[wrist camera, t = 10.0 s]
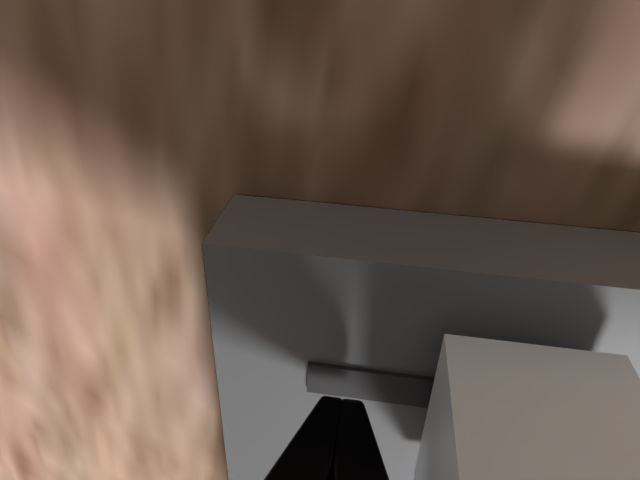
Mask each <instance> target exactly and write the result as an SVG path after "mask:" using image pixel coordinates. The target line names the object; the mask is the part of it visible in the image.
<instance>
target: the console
mask: <svg viewBox="0 0 640 480" xmlns="http://www.w3.org/2000/svg"><path fill="white" fill-rule="evenodd" d="M202 252H203V260H204V269H205V278H206V287H207V295H208V304H209V313H210V322H211V330H212V339H213V348H214V357H215V365H216V374H217V383H218V392H219V400H220V409H221V418H222V427H223V435H224V444H225V453H226V462H227V470H228V479H229V480H264V478H265V477H266V476H267V474H268V473H269V471H270V470H271V468H272V467H273V465H274V464H275V463H276V461H277V460H278V458H279V457H280V455H281V454H282V453H283V451H284V450H285V448H286V447H287V445H288V444H289V442H290V441H291V440H292V438H293V437H294V435H295V434H296V432H297V431H298V429H299V428H300V427H301V425H302V424H303V422H304V421H305V419H306V418H307V417H308V415H309V414H310V412H311V411H312V409H313V408H314V406H315V405H316V404H317V402H318V401H319V399H320V398H321V397H322V396H331V397H338V398H341V399H342V400H343V399H353V400H360V401H362V402H363V403H364V405H365V408H366V411H367V414H368V417H369V420H370V423H371V426H372V429H373V432H374V435H375V438H376V441H377V444H378V447H379V450H380V453H381V456H382V459H383V462H384V465H385V468H386V471H387V474H388V477H389V480H414V470H415V465H416V461H417V456H418V452H419V447H420V443H421V438H422V433H423V429H424V424H425V420H426V415H427V411H428V406H429V401H430V397H431V392H432V388H433V383H434V379H435V374H436V370H437V365H438V360H439V356H440V351H441V347H442V342H443V338H444V334H451V335H460V336H468V337H476V338H485V339H493V340H502V341H510V342H518V343H527V344H535V345H544V346H552V347H560V348H569V349H577V350H586V351H594V352H602V353H611V354H619V355H627V356H628V358H629V360H630V361H631V363H632V365H633V367H634V369H635V371H636V373H637V375H638V376H639V378H640V233H639V232H628V231H618V230H607V229H597V228H586V227H575V226H565V225H554V224H543V223H533V222H522V221H512V220H501V219H490V218H480V217H469V216H458V215H448V214H437V213H426V212H416V211H405V210H395V209H384V208H373V207H363V206H352V205H341V204H331V203H320V202H310V201H299V200H288V199H278V198H267V197H256V196H246V195H235V194H234V195H233V196H232V198H231V199H230V201H229V202H228V204H227V205H226V207H225V208H224V210H223V212H222V213H221V215H220V216H219V218H218V219H217V221H216V222H215V224H214V225H213V227H212V228H211V230H210V231H209V233H208V234H207V236H206V238H205V239H204V241H203V242H202Z"/></svg>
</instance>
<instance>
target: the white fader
mask: <svg viewBox="0 0 640 480" xmlns="http://www.w3.org/2000/svg"><path fill="white" fill-rule="evenodd" d="M414 480H640V378H639V376H638V375H637V373H636V371H635V369H634V367H633V365H632V363H631V361H630V360H629V358H628V356H627V355H619V354H611V353H602V352H594V351H586V350H577V349H569V348H560V347H552V346H544V345H535V344H527V343H518V342H510V341H502V340H493V339H485V338H476V337H468V336H460V335H451V334H444V338H443V342H442V347H441V351H440V356H439V360H438V365H437V370H436V374H435V379H434V383H433V388H432V392H431V397H430V401H429V406H428V411H427V415H426V420H425V424H424V429H423V433H422V438H421V443H420V447H419V452H418V456H417V461H416V465H415V470H414Z"/></svg>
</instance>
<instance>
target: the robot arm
mask: <svg viewBox="0 0 640 480" xmlns="http://www.w3.org/2000/svg"><path fill="white" fill-rule="evenodd" d="M264 480H389V477H388V474H387V471H386V468H385V465H384V462H383V459H382V456H381V453H380V450H379V447H378V444H377V441H376V438H375V435H374V432H373V429H372V426H371V423H370V420H369V417H368V414H367V411H366V408H365V405H364V403H363V402H362V401H360V400H353V399H343V400H342V399H341V398H338V397H331V396H322V397H321V398H320V399H319V401H318V402H317V404H316V405H315V406H314V408H313V409H312V411H311V412H310V414H309V415H308V417H307V418H306V419H305V421H304V422H303V424H302V425H301V427H300V428H299V429H298V431H297V432H296V434H295V435H294V437H293V438H292V440H291V441H290V442H289V444H288V445H287V447H286V448H285V450H284V451H283V453H282V454H281V455H280V457H279V458H278V460H277V461H276V463H275V464H274V465H273V467H272V468H271V470H270V471H269V473H268V474H267V476H266V477H265V478H264Z"/></svg>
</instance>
